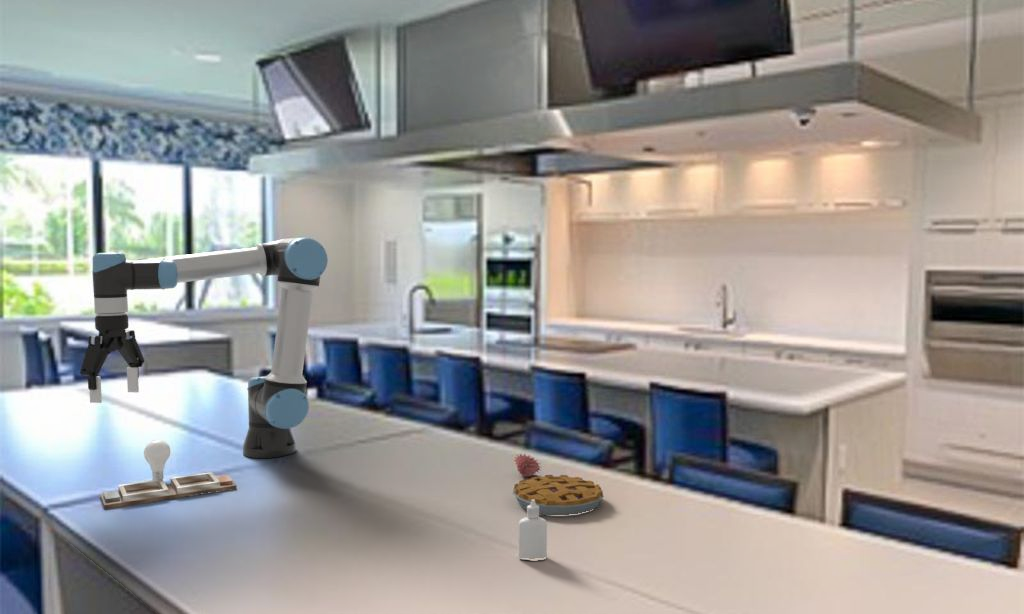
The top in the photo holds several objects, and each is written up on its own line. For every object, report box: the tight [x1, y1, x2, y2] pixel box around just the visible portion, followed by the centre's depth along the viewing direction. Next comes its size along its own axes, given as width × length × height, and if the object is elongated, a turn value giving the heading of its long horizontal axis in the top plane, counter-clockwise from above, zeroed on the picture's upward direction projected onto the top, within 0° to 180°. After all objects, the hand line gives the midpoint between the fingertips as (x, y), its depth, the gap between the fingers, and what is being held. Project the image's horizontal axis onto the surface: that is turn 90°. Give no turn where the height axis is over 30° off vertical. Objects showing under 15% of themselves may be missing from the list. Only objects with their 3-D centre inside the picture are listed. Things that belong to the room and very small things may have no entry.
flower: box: [514, 453, 542, 478], centre depth 214 cm, size 8×8×6 cm
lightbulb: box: [143, 439, 172, 481], centre depth 206 cm, size 6×6×11 cm
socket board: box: [100, 471, 237, 510], centre depth 197 cm, size 30×10×2 cm, turn 122°
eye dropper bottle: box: [518, 499, 548, 559], centre depth 157 cm, size 4×6×12 cm
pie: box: [512, 474, 604, 516], centre depth 191 cm, size 22×22×5 cm
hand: (115, 397), depth 201 cm, fingers open, 13 cm apart
